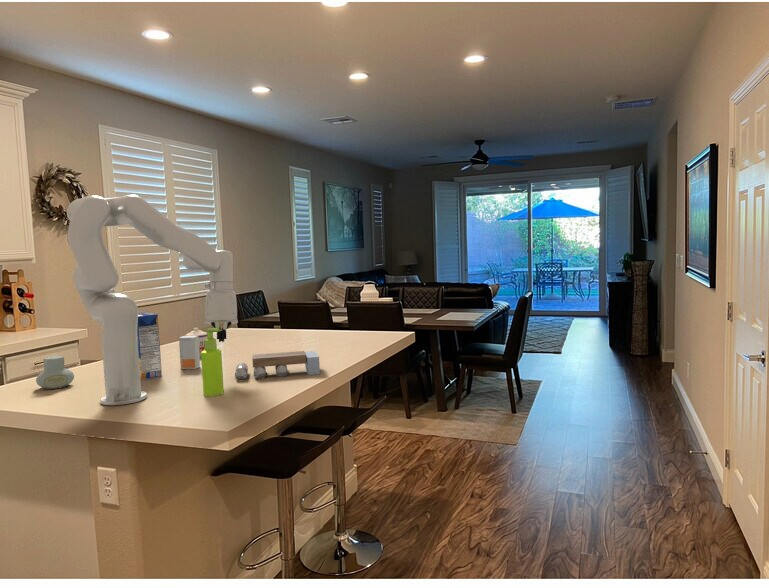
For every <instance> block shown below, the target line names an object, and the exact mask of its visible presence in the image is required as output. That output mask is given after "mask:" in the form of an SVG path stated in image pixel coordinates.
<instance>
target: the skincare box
mask: <svg viewBox="0 0 769 588" xmlns="http://www.w3.org/2000/svg"><path fill="white" fill-rule="evenodd" d="M178 342H179V344H178V345H179V364H180V370H197V369H199V368H200V366H201V364H200V363H201V357H199V339H198V336H185V335H183V336H179V337H178ZM196 368H197V369H196Z"/></svg>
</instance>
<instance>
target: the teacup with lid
mask: <svg viewBox="0 0 769 588" xmlns="http://www.w3.org/2000/svg"><path fill="white" fill-rule="evenodd" d="M184 336H198V339H199V358H201V352H202V351H204V350H205V340H206V339H207V331H203V330H201V329H199V327H194V328H193V330H191V331H190V332H188V333H186V334H185V335H184Z"/></svg>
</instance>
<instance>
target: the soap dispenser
mask: <svg viewBox="0 0 769 588" xmlns="http://www.w3.org/2000/svg"><path fill="white" fill-rule="evenodd" d="M221 330H222V329H221ZM221 330H220V329H217V328H214V327H209V328H204V331H203V332H206V333H207V339H206V340H205V350H204V351H202V352H201V357H200V362H201V373H202V375H201V376H202V390H203V391H202V392H203V396H205V397H215V395H217V396H221V395H223V394H224V393H225V392H224V390H225V389H224V376H223V375H224V373H223V360H222V359H223V358H222V357H223V355H222V350H221V349H218V347H217V345H218V344H217V338H215V337H214V333H217V332H220V331H221ZM220 394H221V395H220Z"/></svg>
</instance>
